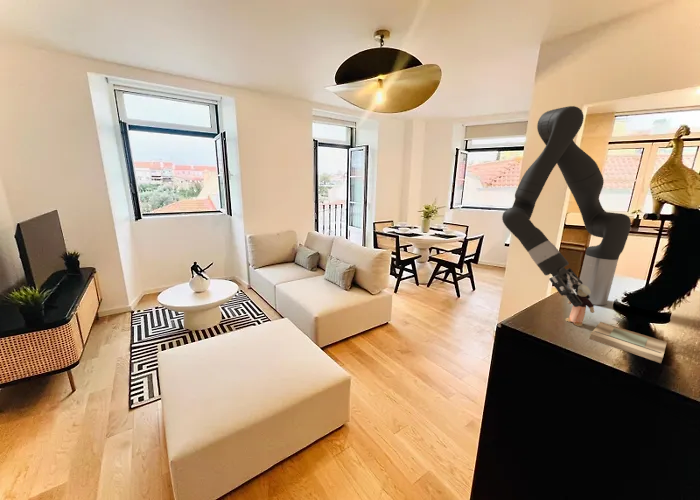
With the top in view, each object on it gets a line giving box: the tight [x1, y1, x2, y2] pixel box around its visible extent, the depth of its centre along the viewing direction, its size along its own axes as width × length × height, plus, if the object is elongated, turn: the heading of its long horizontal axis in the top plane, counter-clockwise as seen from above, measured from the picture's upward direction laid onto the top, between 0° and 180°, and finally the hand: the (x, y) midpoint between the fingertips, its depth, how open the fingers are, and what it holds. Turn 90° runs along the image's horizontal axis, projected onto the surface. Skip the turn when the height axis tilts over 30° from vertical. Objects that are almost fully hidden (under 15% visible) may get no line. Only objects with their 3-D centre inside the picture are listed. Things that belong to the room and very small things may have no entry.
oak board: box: [589, 321, 668, 364], centre depth 79 cm, size 12×14×2 cm
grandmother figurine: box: [564, 285, 595, 327], centre depth 88 cm, size 8×4×13 cm, turn 27°
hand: (583, 302), depth 87 cm, fingers open, 8 cm apart
